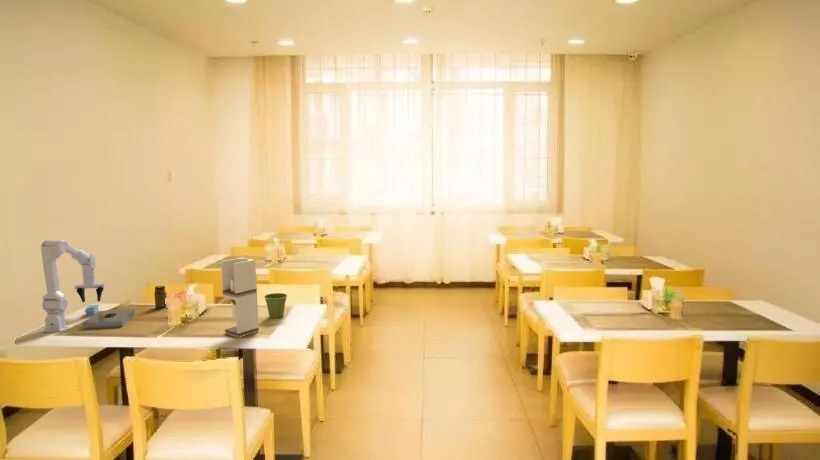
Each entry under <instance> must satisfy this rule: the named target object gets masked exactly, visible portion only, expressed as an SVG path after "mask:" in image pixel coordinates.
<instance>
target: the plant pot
mask: <svg viewBox="0 0 820 460" xmlns="http://www.w3.org/2000/svg"><path fill="white" fill-rule="evenodd" d="M287 297H288V294H287V293H282V292H275V293H268V294H265V295H264V296H263V298H264V299H265V300H264V301H265V303H266V306H267V307H266V308H267V312H268V317H269V318H270V319H281V318H283V317H284V314H285V307H286V302H287Z"/></svg>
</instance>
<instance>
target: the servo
mask: <svg viewBox="0 0 820 460" xmlns="http://www.w3.org/2000/svg"><path fill="white" fill-rule="evenodd" d="M99 306H100V304H90V305H88V306H86V308H85V309H84V312H85V315H86V317H91V316H93V315H94V314H95V313H97V312H98V311H99Z"/></svg>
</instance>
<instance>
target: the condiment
mask: <svg viewBox="0 0 820 460" xmlns="http://www.w3.org/2000/svg"><path fill="white" fill-rule="evenodd" d="M153 293H154V306H152V308H153V309H154V310H156V311H161V310H167V309H166V304H165V298H167V291H166V286H165V285H156V286H155V287H154V292H153Z"/></svg>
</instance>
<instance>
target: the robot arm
mask: <svg viewBox="0 0 820 460" xmlns="http://www.w3.org/2000/svg"><path fill="white" fill-rule="evenodd" d="M40 250H41V260H42V268H43V273H44V280H45V287H46V293H45V295H43V296H42V302H41V303H42V304H41V306H42V309H43V310H44V311H45V313H46V315H47V316H46V317H45V319H44V322H45V330H44V332H43V333H54V332H55V333H57V332H63V331H64V330H66V329H67V328H68V327H69V326H70V325H69V324H66V315H65V311H66V310H67V308H68V306H69V305H68V304H69V303H68V300H67V298H66V295H65V293H64V292H61V287H60V283H59V282H60V280H59V275H58V268H57V261H56V260H57V259H58V258H60V257H62V255H63V254H65V253H67V254H69V255H70V257H71V258H72V259H74V260H75V261H77V262H78V264H79V265H80V266H81V271H82V281H83V284H76V285H74V290H76V292H77V294H78V295H79V297H80V299H81V302H82V303H85V302H86V295H85V291H86V290H85V289H95V291H96V297H97V302H100V301H101V297H102V294H103V291H104V288H106V284H105V283H98V282H96V281H97V280H96V271H95V269H96V263H97V258H96V256H95V255H94V254H91V253H90V254H89V252H87V251H84V250H83V248H80V247H78V248H75V247H74V246H72V245H71V244H69V241H66V240H64V239H59V240H58V239H53V240H52V239H44V241H42V243H41V245H40Z"/></svg>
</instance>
